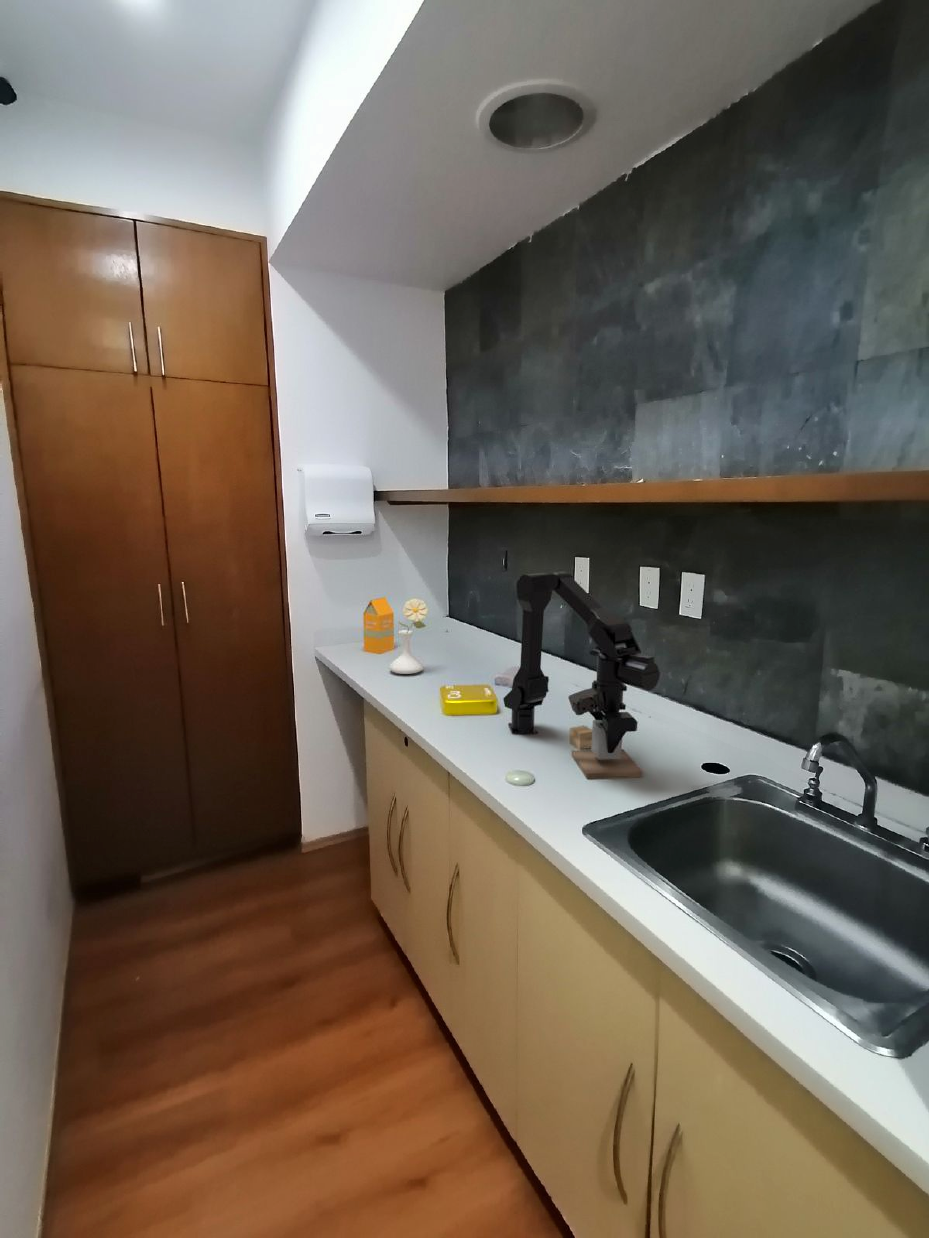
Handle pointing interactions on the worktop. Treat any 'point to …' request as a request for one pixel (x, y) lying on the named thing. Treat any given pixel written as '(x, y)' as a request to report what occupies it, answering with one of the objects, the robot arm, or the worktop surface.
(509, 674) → the stone block
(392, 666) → the flower in vase
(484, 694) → the element tile
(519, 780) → the pale green rounded piece
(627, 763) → the walnut board
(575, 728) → the oak cube
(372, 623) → the orange juice
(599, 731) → the slate block
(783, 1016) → the worktop surface
